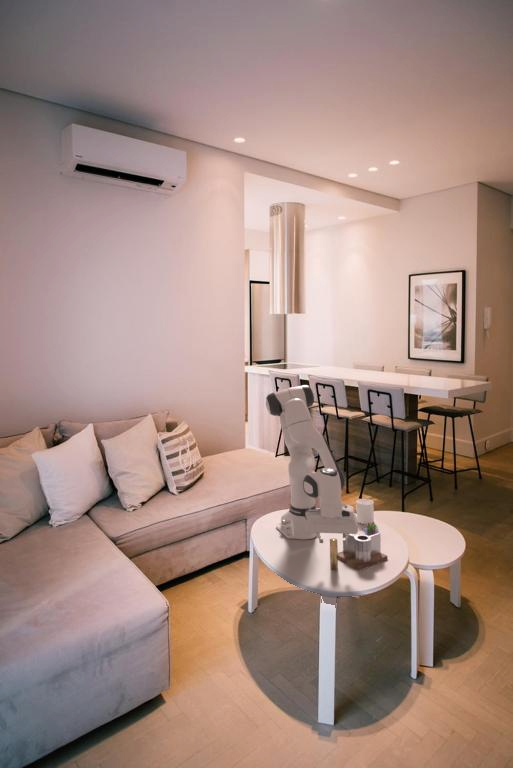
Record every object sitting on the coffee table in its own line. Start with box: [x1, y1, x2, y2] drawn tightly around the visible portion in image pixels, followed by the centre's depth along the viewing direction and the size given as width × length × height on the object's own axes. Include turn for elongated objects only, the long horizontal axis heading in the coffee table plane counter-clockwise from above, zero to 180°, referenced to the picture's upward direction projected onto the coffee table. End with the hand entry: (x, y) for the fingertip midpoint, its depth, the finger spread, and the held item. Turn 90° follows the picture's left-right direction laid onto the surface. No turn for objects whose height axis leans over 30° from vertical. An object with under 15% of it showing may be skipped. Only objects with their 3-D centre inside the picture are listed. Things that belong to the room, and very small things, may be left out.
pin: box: [329, 537, 339, 571], centre depth 187 cm, size 3×3×12 cm
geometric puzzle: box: [362, 523, 380, 536], centre depth 214 cm, size 7×7×8 cm
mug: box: [355, 498, 375, 525], centre depth 235 cm, size 12×8×10 cm
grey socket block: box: [342, 532, 382, 563], centre depth 195 cm, size 13×13×9 cm
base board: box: [338, 550, 388, 571], centre depth 195 cm, size 14×16×2 cm
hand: (333, 543), depth 186 cm, fingers open, 8 cm apart
